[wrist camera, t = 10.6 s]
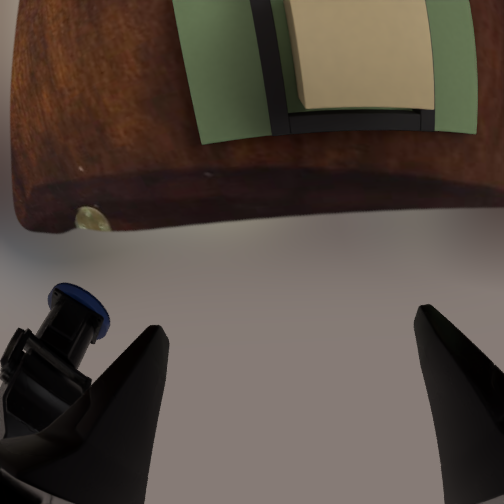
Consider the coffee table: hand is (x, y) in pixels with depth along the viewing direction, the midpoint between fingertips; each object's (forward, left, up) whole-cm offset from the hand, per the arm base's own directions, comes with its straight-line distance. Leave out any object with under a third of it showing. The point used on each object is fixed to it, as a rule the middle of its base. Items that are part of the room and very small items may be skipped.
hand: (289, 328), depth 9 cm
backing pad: (+9, +3, -12) cm, 15 cm away
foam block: (+9, +3, -11) cm, 14 cm away
